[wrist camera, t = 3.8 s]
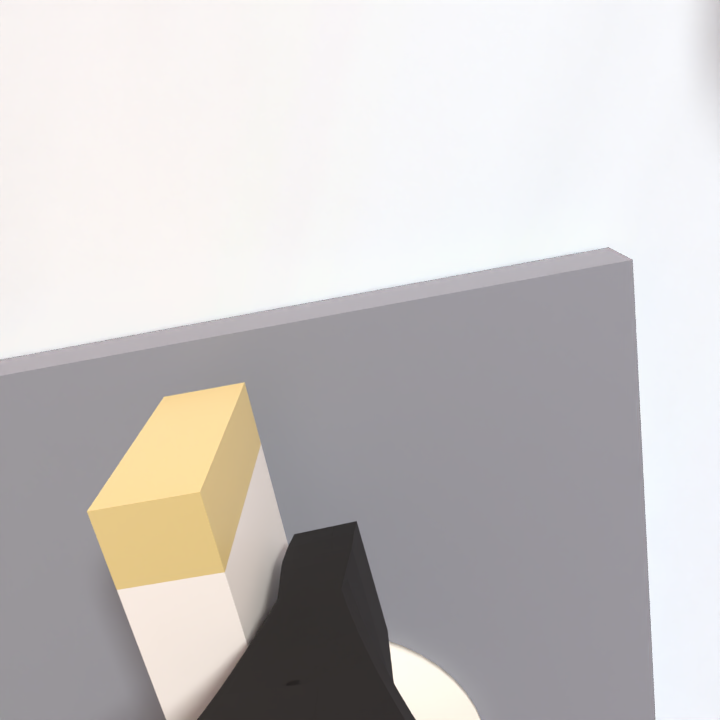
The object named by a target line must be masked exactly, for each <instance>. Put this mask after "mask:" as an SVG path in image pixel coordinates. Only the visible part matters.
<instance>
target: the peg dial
mask: <svg viewBox="0 0 720 720" xmlns="http://www.w3.org/2000/svg"><path fill="white" fill-rule="evenodd" d="M87 513H88V516H89V518H90V521H91V524H92V526H93V529H94V532H95V534H96V537H97V539H98V542H99V545H100V547H101V550H102V553H103V555H104V558H105V560H106V563H107V566H108V568H109V571H110V574H111V576H112V579H113V581H114V584H115V587H116V589H117V592H118V595H119V597H120V600H121V602H122V605H123V608H124V610H125V613H126V616H127V618H128V621H129V624H130V626H131V629H132V631H133V634H134V637H135V639H136V642H137V645H138V647H139V650H140V652H141V655H142V658H143V660H144V663H145V666H146V668H147V671H148V673H149V676H150V679H151V681H152V684H153V687H154V689H155V692H156V694H157V697H158V700H159V702H160V705H161V708H162V710H163V713H164V715H165V718H166V720H197V719H198V718H199V716H200V715H201V714H202V712H203V711H204V710H205V708H206V707H207V706H208V704H209V703H210V702H211V700H212V699H213V697H214V696H215V695H216V693H217V692H218V691H219V689H220V688H221V686H222V685H223V684H224V682H225V681H226V679H227V678H228V676H229V675H230V673H231V672H232V670H233V669H234V667H235V666H236V664H237V663H238V661H239V660H240V658H241V657H242V655H243V654H244V652H245V651H246V649H247V648H248V646H249V645H250V643H251V642H252V640H253V639H254V637H255V636H256V634H257V632H258V631H259V629H260V627H261V626H262V624H263V622H264V621H265V619H266V617H267V616H268V614H269V612H270V611H271V609H272V607H273V606H274V604H275V602H276V601H277V598H278V590H279V582H280V574H281V566H282V561H283V559H284V556H285V553H286V550H287V548H288V543H287V539H286V535H285V531H284V528H283V524H282V520H281V517H280V513H279V509H278V505H277V502H276V498H275V494H274V490H273V487H272V483H271V479H270V475H269V472H268V468H267V464H266V460H265V457H264V453H263V449H262V445H261V442H260V438H259V434H258V430H257V427H256V423H255V419H254V416H253V412H252V408H251V404H250V401H249V397H248V393H247V389H246V386H245V382H243V383H238V384H232V385H227V386H221V387H216V388H210V389H205V390H199V391H194V392H188V393H183V394H177V395H172V396H166V397H163V399H162V400H161V402H160V403H159V405H158V406H157V408H156V409H155V411H154V412H153V414H152V415H151V417H150V418H149V420H148V421H147V423H146V424H145V426H144V427H143V429H142V430H141V432H140V433H139V435H138V436H137V438H136V439H135V441H134V442H133V444H132V445H131V447H130V448H129V450H128V451H127V453H126V454H125V455H124V457H123V458H122V460H121V461H120V463H119V464H118V466H117V467H116V469H115V470H114V472H113V473H112V475H111V476H110V478H109V479H108V481H107V482H106V484H105V485H104V487H103V488H102V490H101V491H100V493H99V494H98V496H97V497H96V499H95V500H94V502H93V503H92V505H91V506H90V508H89V509H88V511H87Z"/></svg>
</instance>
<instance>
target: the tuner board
mask: <svg viewBox="0 0 720 720" xmlns="http://www.w3.org/2000/svg"><path fill="white" fill-rule="evenodd" d="M243 382H245V386H246V389H247V393H248V397H249V401H250V404H251V408H252V412H253V416H254V419H255V423H256V427H257V430H258V434H259V438H260V442H261V445H262V449H263V453H264V457H265V460H266V464H267V468H268V472H269V475H270V479H271V483H272V487H273V490H274V494H275V498H276V502H277V505H278V509H279V513H280V517H281V520H282V524H283V528H284V531H285V535H286V539H287V543H288V546H289V544H290V542H291V540H292V538H293V536H294V534H298V533H303V532H307V531H312V530H317V529H321V528H326V527H331V526H336V525H340V524H345V523H350V522H354V521H357V524H358V528H359V531H360V535H361V538H362V542H363V545H364V549H365V552H366V556H367V559H368V563H369V566H370V570H371V573H372V577H373V580H374V584H375V587H376V591H377V594H378V598H379V601H380V605H381V609H382V612H383V616H384V619H385V623H386V626H387V630H388V637H389V646H390V654H391V662H392V671H393V680H394V684H395V686H396V688H397V689H398V691H399V693H400V694H401V696H402V698H403V700H404V701H405V703H406V705H407V706H408V708H409V710H410V711H411V713H412V714H413V716H414V718H415V719H416V720H655V702H654V682H653V662H652V642H651V621H650V601H649V581H648V561H647V541H646V521H645V500H644V480H643V460H642V440H641V420H640V399H639V379H638V359H637V339H636V319H635V298H634V278H633V260H632V259H630V258H628V257H626V256H624V255H622V254H620V253H618V252H617V251H615V250H613V249H611V248H609V247H608V248H603V249H598V250H592V251H587V252H581V253H576V254H570V255H565V256H560V257H554V258H549V259H543V260H538V261H533V262H527V263H522V264H516V265H511V266H506V267H500V268H495V269H489V270H484V271H478V272H473V273H468V274H462V275H457V276H451V277H446V278H441V279H435V280H430V281H424V282H419V283H414V284H408V285H403V286H397V287H392V288H386V289H381V290H376V291H370V292H365V293H359V294H354V295H349V296H343V297H338V298H332V299H327V300H322V301H316V302H311V303H305V304H300V305H294V306H289V307H284V308H278V309H273V310H267V311H262V312H257V313H251V314H246V315H240V316H235V317H229V318H224V319H219V320H213V321H208V322H202V323H197V324H192V325H186V326H181V327H175V328H170V329H165V330H159V331H154V332H148V333H143V334H137V335H132V336H127V337H121V338H116V339H110V340H105V341H100V342H94V343H89V344H83V345H78V346H73V347H67V348H62V349H56V350H51V351H45V352H40V353H35V354H29V355H24V356H18V357H13V358H8V359H2V360H0V720H166V718H165V715H164V713H163V710H162V708H161V705H160V702H159V700H158V697H157V694H156V692H155V689H154V687H153V684H152V681H151V679H150V676H149V673H148V671H147V668H146V666H145V663H144V660H143V658H142V655H141V652H140V650H139V647H138V645H137V642H136V639H135V637H134V634H133V631H132V629H131V626H130V624H129V621H128V618H127V616H126V613H125V610H124V608H123V605H122V602H121V600H120V597H119V595H118V592H117V589H116V587H115V584H114V581H113V579H112V576H111V574H110V571H109V568H108V566H107V563H106V560H105V558H104V555H103V553H102V550H101V547H100V545H99V542H98V539H97V537H96V534H95V532H94V529H93V526H92V524H91V521H90V518H89V516H88V513H87V511H88V509H89V508H90V506H91V505H92V503H93V502H94V500H95V499H96V497H97V496H98V494H99V493H100V491H101V490H102V488H103V487H104V485H105V484H106V482H107V481H108V479H109V478H110V476H111V475H112V473H113V472H114V470H115V469H116V467H117V466H118V464H119V463H120V461H121V460H122V458H123V457H124V455H125V454H126V453H127V451H128V450H129V448H130V447H131V445H132V444H133V442H134V441H135V439H136V438H137V436H138V435H139V433H140V432H141V430H142V429H143V427H144V426H145V424H146V423H147V421H148V420H149V418H150V417H151V415H152V414H153V412H154V411H155V409H156V408H157V406H158V405H159V403H160V402H161V400H162V399H163V397H166V396H172V395H177V394H183V393H188V392H194V391H199V390H205V389H210V388H216V387H221V386H227V385H232V384H238V383H243Z"/></svg>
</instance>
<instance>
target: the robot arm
mask: <svg viewBox="0 0 720 720" xmlns="http://www.w3.org/2000/svg"><path fill="white" fill-rule="evenodd" d="M197 720H416V719H415V718H414V716H413V714H412V713H411V711H410V710H409V708H408V706H407V705H406V703H405V701H404V700H403V698H402V696H401V694H400V693H399V691H398V689H397V688H396V686H395V684H394V680H393V671H392V662H391V654H390V646H389V637H388V630H387V626H386V623H385V619H384V616H383V612H382V609H381V605H380V601H379V598H378V594H377V591H376V587H375V584H374V580H373V577H372V573H371V570H370V566H369V563H368V559H367V556H366V552H365V549H364V545H363V542H362V538H361V535H360V531H359V528H358V524H357V521H354V522H350V523H345V524H340V525H336V526H331V527H326V528H321V529H317V530H312V531H307V532H303V533H298V534H294V536H293V538H292V540H291V542H290V544H289V546H288V548H287V550H286V553H285V556H284V559H283V561H282V566H281V574H280V582H279V590H278V598H277V601H276V602H275V604H274V606H273V607H272V609H271V611H270V612H269V614H268V616H267V617H266V619H265V621H264V622H263V624H262V626H261V627H260V629H259V631H258V632H257V634H256V636H255V637H254V639H253V640H252V642H251V643H250V645H249V646H248V648H247V649H246V651H245V652H244V654H243V655H242V657H241V658H240V660H239V661H238V663H237V664H236V666H235V667H234V669H233V670H232V672H231V673H230V675H229V676H228V678H227V679H226V681H225V682H224V684H223V685H222V686H221V688H220V689H219V691H218V692H217V693H216V695H215V696H214V697H213V699H212V700H211V702H210V703H209V704H208V706H207V707H206V708H205V710H204V711H203V712H202V714H201V715H200V716H199V718H198V719H197Z"/></svg>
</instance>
